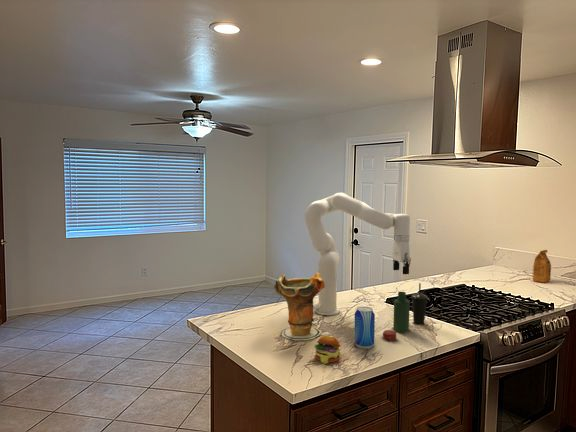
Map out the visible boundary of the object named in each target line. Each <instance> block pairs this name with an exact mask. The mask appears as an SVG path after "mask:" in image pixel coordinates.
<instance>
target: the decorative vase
mask: <svg viewBox="0 0 576 432" xmlns="http://www.w3.org/2000/svg"><path fill="white" fill-rule="evenodd" d="M324 286H325V284H324V281H323V280H322V279H321V278H320V274H319V272H315V274H313V276H311V277H296V278H295V277H293V278H288V279H287V278H286V274H281V275H280V276H279V278H278V279H276V280H275V284H274V286H273V288H274V292H275V293H276V294H278V295H280V296H282V298H284V299H285V301H286V304H287V311H288V319H287V320H288V321H287V322H288V325H289V327H288V328H286V329H285V330H283V331H282V333H281V335H282V336H281V337H284V338H285V339H289V340H293V341H307V340H312V339H315V338H316V337H319V336H320V335H321V332H322V331H321V330H320V329H319V328H317V327H313V322H315V319H314V309H313V305H314V298H315V297H316V296H317V294H319V292H320V291H321V289H322V288H324ZM315 325H317V323H316V322H315Z"/></svg>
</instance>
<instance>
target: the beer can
mask: <svg viewBox="0 0 576 432" xmlns="http://www.w3.org/2000/svg"><path fill="white" fill-rule="evenodd" d="M353 320H354V321H353V322H354V327H353V329H354V331H353V338H354V339H353V342H354V344H355V346H356V347H357V348H359V349H363V350H368V349H371V348H373V346H374V345H375V327H376V325H375V323H376V322H375V321H376V315H375V312H374V310H373V308H372V307H369V306H358V307H356V310H355V312H354V319H353Z"/></svg>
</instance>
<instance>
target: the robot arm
mask: <svg viewBox="0 0 576 432" xmlns="http://www.w3.org/2000/svg"><path fill="white" fill-rule="evenodd" d="M336 211H341V212H343V213H346V214H348V215H350V216H352V217H355V218H357V219H359V220H361V221H363V222H365V223H367V224H370V225H371V226H375V227H377V228H379V229H382V230H389V229H390V228H393V242H392V251H391V258H392V262H393V263H392V264H393V265H392V270H393V271H400V263H402V265H403V266H402V275H409V274H410V266H411V262H412V258H411V255H410V254H411V253H410V228H411V227H410V226H411V225H410V223H411V222H410V221H411V216H410V214H407V213H390V212H383V211H380V210H377V209H375V208H373V207H372V206H369V205H368V204H367V203H366V202H364V201H362V200H360V199H357V198H354V197H352V196H350V195H348V194H347V193H345V192H336V193H334V194H333V195H331V196H327V197H326V198H322V199H317V200H315V201H313V202H311V203H310V204H309V205H308V206H307V208H306V209H305V213H304V222H305V226H306V228H307V232H308V235H309V237H310V241H311V242H312V246H313V248H314V250H315V251H317V253H318V252H319V254H320V257H319V259H318V262H317V271H318V272H317V273H319V274H320V278H321V279H322V280H323V281H324V284H325V286H324V288H322V289H321V291H320V292H318V301H317V302H316V303H315V304H313V310H315V312H316V313H317V314H318V315H322V316H335V315H338V314H339V313H340V308H338V307H337V299H338V297H337V296H338V295H337V294H338V293H337V292H338V291H337V289H338V287H337V286H338V284H337V283H338V282H337V281H338V278H337V267H338V265H340V264H339V263H340V260H341V259H340V254H339V251H338V249H337V246H336V243H335V240H334V239H333V236H332V235H331V234H330V233H328V232H326V229H325V226H324V224H323V222H322V217H323V216H325V215H328V214H332V213H334V212H336Z"/></svg>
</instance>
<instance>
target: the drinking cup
mask: <svg viewBox="0 0 576 432" xmlns="http://www.w3.org/2000/svg"><path fill="white" fill-rule="evenodd" d="M421 285H422V284H421V283H420V282H419V283H418V292H417V293H416V292H415V293H413V294H411V301H412V317H413V318H412V319H413V324H414V325H416V326H417V325H418V326H423V325H425V318H426V311H427V302H428V298H429V296H428V295H426V294H424V293H421V288H422V286H421Z"/></svg>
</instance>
